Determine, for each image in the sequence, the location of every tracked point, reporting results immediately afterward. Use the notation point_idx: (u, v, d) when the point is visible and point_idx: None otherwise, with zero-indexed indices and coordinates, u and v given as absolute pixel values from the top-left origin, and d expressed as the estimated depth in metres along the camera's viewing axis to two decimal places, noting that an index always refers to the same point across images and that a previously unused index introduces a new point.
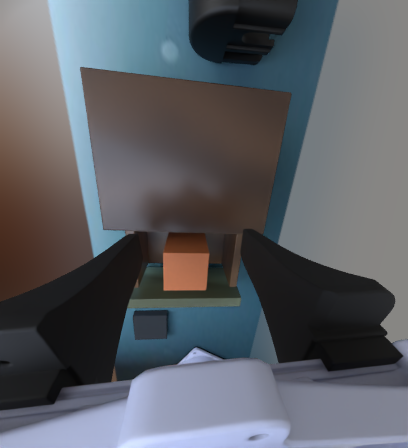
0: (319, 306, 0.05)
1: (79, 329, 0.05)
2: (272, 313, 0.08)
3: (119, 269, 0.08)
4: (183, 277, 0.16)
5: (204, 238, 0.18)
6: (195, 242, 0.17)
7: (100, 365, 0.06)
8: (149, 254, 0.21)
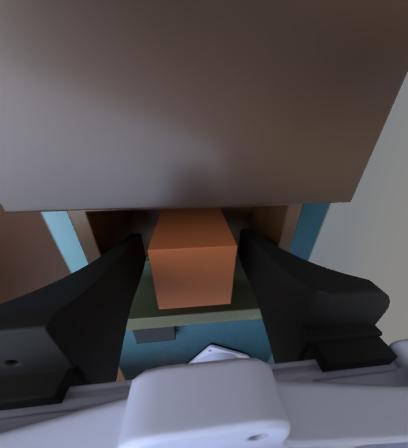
0: (313, 307, 0.05)
1: (86, 328, 0.05)
2: (268, 313, 0.08)
3: (123, 269, 0.08)
4: (190, 288, 0.09)
5: (221, 216, 0.11)
6: (207, 225, 0.10)
7: (105, 364, 0.06)
8: None
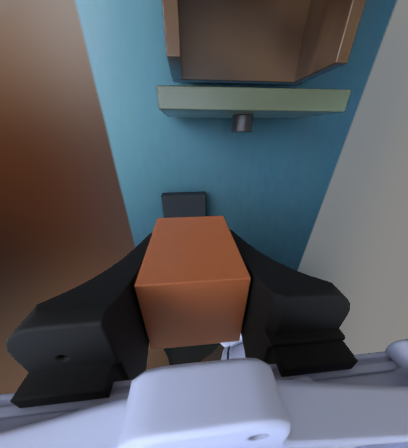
0: (272, 310, 0.05)
1: (125, 325, 0.05)
2: None
3: None
4: (189, 326, 0.07)
5: (227, 232, 0.09)
6: (211, 246, 0.08)
7: (138, 361, 0.07)
8: (183, 58, 0.13)
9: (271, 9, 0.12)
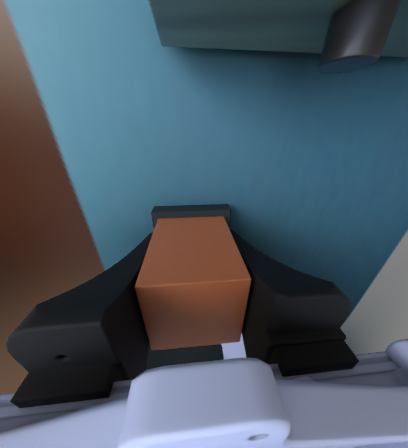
0: (273, 310, 0.05)
1: (125, 325, 0.05)
2: None
3: None
4: (190, 327, 0.07)
5: (228, 233, 0.09)
6: (211, 247, 0.08)
7: (138, 361, 0.06)
8: None
9: None
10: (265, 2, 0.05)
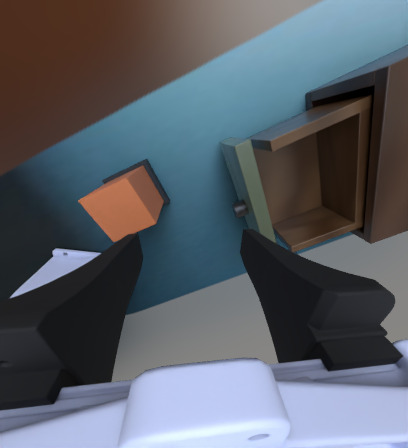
0: (319, 306, 0.05)
1: (79, 329, 0.05)
2: (272, 313, 0.08)
3: (119, 269, 0.08)
4: (111, 212, 0.13)
5: (160, 207, 0.17)
6: (153, 202, 0.15)
7: (100, 365, 0.06)
8: None
9: (300, 191, 0.19)
10: (237, 179, 0.15)
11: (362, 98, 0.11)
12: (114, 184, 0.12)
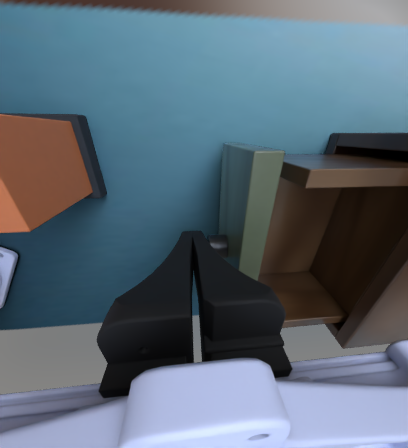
0: (205, 316, 0.05)
1: None
2: None
3: (190, 265, 0.09)
4: None
5: (74, 200, 0.10)
6: (53, 188, 0.08)
7: None
8: None
9: (294, 247, 0.14)
10: (229, 205, 0.10)
11: None
12: None
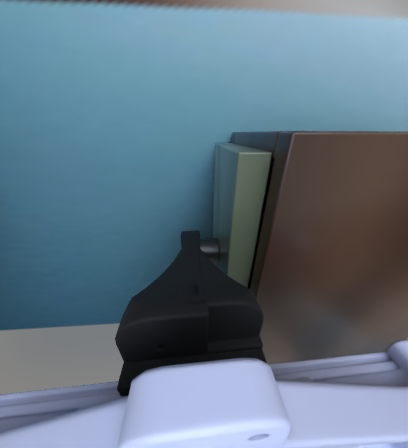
0: None
1: None
2: None
3: None
4: None
5: None
6: None
7: None
8: None
9: None
10: (220, 208, 0.09)
11: None
12: None
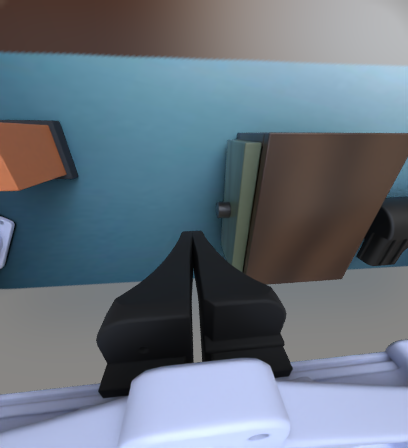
0: (206, 316, 0.05)
1: None
2: (200, 319, 0.08)
3: (190, 265, 0.09)
4: None
5: (50, 177, 0.15)
6: (34, 167, 0.13)
7: None
8: None
9: None
10: (231, 179, 0.15)
11: None
12: None
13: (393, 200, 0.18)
